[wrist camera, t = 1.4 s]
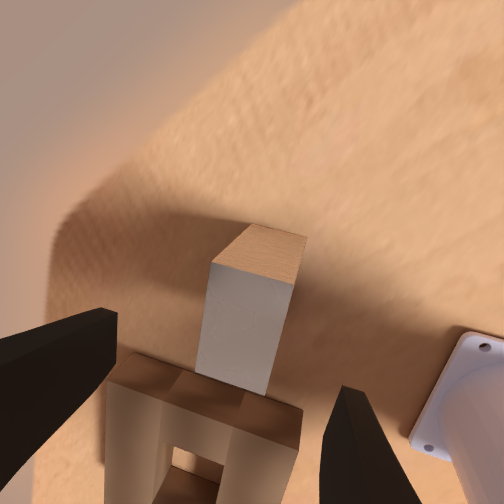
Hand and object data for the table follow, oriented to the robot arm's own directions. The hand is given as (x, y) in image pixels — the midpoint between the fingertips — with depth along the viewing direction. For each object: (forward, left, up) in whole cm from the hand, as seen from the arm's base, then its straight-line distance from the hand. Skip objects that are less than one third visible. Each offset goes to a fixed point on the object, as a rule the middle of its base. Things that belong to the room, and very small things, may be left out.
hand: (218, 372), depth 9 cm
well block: (+2, +15, -8) cm, 17 cm away
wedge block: (0, 0, -8) cm, 8 cm away
